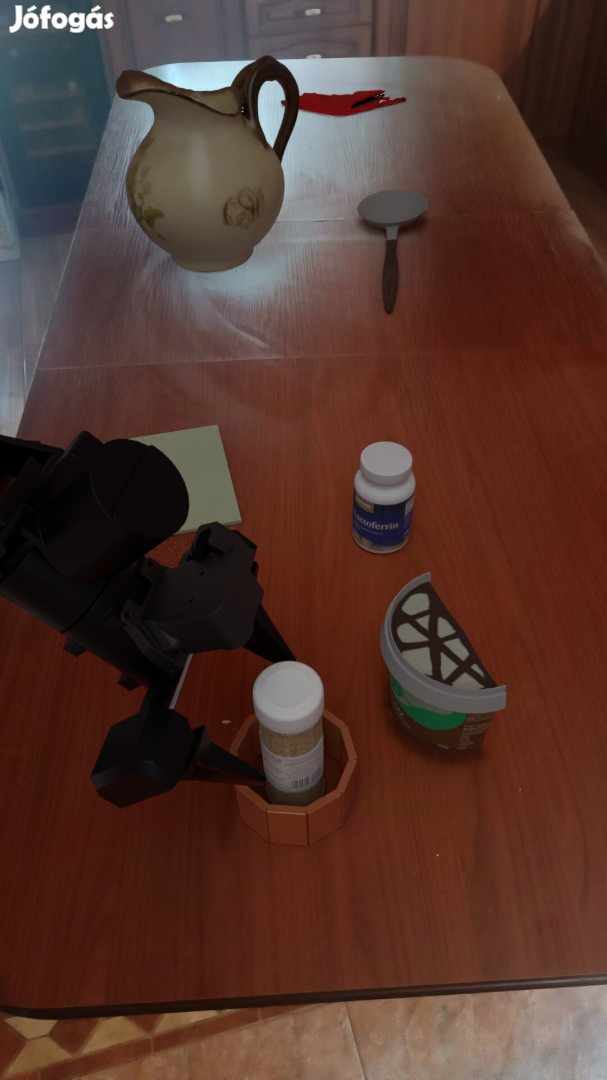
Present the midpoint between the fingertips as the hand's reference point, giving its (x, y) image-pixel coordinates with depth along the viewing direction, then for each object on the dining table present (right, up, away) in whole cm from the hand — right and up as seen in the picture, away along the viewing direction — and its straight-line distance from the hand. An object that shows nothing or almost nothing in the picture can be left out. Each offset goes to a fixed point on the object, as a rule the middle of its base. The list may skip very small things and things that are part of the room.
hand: (278, 720), depth 54 cm
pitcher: (-12, +56, +68) cm, 89 cm away
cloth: (+10, +102, +111) cm, 151 cm away
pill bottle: (+9, +12, +25) cm, 29 cm away
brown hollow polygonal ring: (+1, -7, +7) cm, 9 cm away
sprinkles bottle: (+1, -7, +7) cm, 10 cm away
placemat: (-14, +18, +31) cm, 38 cm away
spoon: (+15, +54, +65) cm, 86 cm away
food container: (+11, -2, +11) cm, 16 cm away
